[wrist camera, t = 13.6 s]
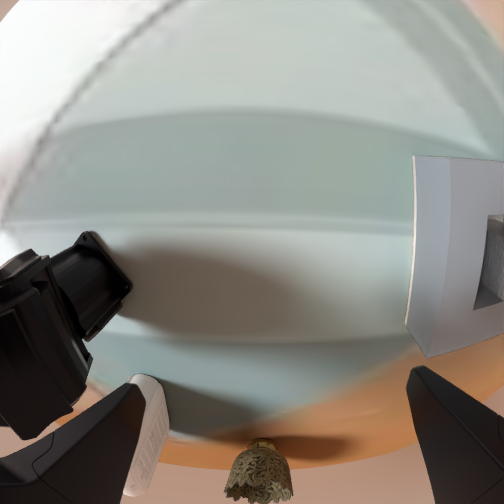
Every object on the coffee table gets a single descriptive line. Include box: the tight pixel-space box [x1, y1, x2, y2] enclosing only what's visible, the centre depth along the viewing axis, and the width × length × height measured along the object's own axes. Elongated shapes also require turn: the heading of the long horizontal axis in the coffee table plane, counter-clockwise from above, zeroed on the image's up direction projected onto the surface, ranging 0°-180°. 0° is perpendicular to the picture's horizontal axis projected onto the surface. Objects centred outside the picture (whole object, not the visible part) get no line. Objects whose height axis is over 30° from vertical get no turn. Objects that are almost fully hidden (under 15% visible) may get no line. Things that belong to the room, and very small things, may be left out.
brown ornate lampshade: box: [224, 439, 293, 504], centre depth 24 cm, size 8×7×8 cm
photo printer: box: [123, 374, 169, 496], centre depth 21 cm, size 10×4×12 cm, turn 175°
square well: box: [404, 156, 504, 359], centre depth 16 cm, size 14×14×5 cm
